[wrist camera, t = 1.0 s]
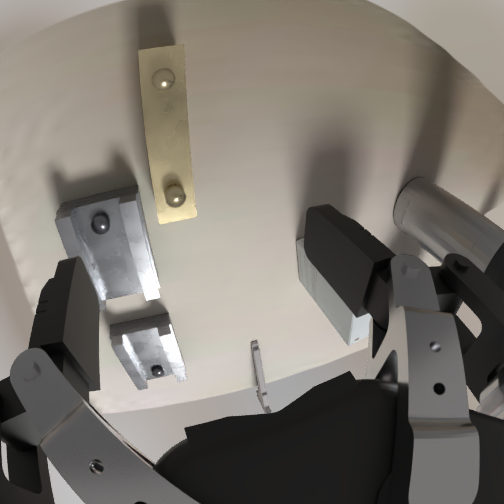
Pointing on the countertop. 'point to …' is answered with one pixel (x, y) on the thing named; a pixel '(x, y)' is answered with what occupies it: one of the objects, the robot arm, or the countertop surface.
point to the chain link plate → (167, 131)
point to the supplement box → (331, 301)
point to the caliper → (260, 378)
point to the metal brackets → (123, 277)
